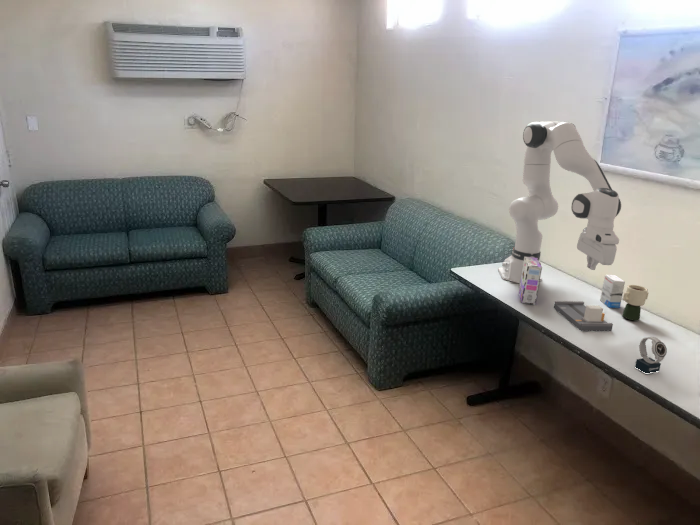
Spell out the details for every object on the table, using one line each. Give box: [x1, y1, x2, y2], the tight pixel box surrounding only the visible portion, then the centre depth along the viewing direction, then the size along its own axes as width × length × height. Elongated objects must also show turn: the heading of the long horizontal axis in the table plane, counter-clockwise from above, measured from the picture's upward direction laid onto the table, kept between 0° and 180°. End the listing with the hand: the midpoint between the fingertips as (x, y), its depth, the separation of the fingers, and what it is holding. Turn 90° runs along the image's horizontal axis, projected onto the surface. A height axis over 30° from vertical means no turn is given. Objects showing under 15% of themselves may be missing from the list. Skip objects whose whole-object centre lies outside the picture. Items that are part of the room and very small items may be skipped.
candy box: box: [518, 257, 543, 306], centre depth 228 cm, size 14×6×16 cm, turn 168°
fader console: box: [553, 300, 614, 332], centre depth 212 cm, size 22×12×5 cm, turn 6°
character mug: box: [622, 284, 649, 322], centre depth 214 cm, size 11×7×13 cm, turn 104°
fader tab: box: [582, 304, 604, 323], centre depth 204 cm, size 4×6×6 cm, turn 96°
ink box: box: [599, 274, 626, 309], centre depth 228 cm, size 9×5×12 cm, turn 0°
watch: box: [634, 336, 668, 373], centre depth 173 cm, size 6×8×11 cm
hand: (590, 268), depth 206 cm, fingers closed
